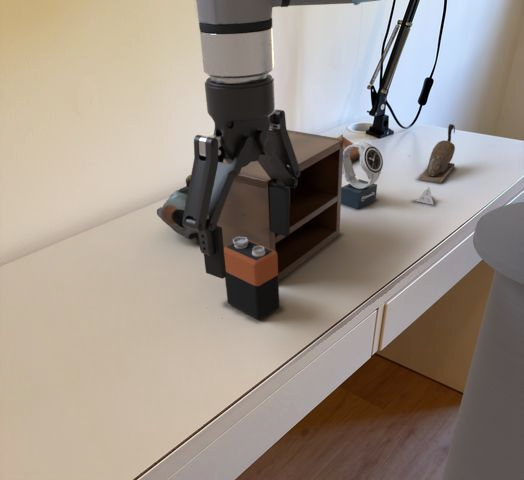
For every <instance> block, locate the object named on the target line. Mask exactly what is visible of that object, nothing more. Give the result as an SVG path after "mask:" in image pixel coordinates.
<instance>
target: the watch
mask: <svg viewBox="0 0 524 480" xmlns="http://www.w3.org/2000/svg"><path fill="white" fill-rule="evenodd" d="M353 147H358V148H359V149H358V151H359V154H360V158H359V163H360V167H361V169H362V170H363V172H364V173H365V174H366V176H367V180H369V181H367V180H363V179H360V178H359V179H357V178H356V176H357V175H356V173H355V170H354V167H353V162H351V160H350V156H349V155H350V152H351V149H352V148H353ZM383 165H384V159H383V155H382V154H381V151H380V150H379V148H377V146H373V145H372V144H371V143H369V142H366V141H357V142H355V143H353V144H352V145H350V146H348V147H347V148H345V150H344V151H343V166H342V175H343V177H344V179H345V181H346V182H348V184H346V185H342V189H341V205H344V206H347V207H350V208H354V209H356V210H359V209H361V208H363V207H365V206H367V205H370V204H371V203H373V202H375V201H376V200H377V190H378V184H377V183H376V182H377V181H378V179H379V177H380V175H381V173H382V169H383Z"/></svg>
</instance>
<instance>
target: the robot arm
mask: <svg viewBox="0 0 524 480" xmlns="http://www.w3.org/2000/svg"><path fill="white" fill-rule="evenodd" d="M379 1H380V0H195V2H196V10H197V19H198V28H199V36H200V46H201V55H202V57H201V58H202V64H203V65H202V66H203V73H204V74H206V75H207V76H208V78H207V79H206V81H205V82H204V92H205V101H206V112H207V114H208V115H209V116H210V118H211V119H212V121H213V123H214V130H213V134H212V135H208V136H207V135H201V134H196V135H195V136H194V138H193V155H194V158H193V163H192V168H191V174H190V175H191V178H190V183H189V189H188V194H187V199H186V204H185V209H184V215H183V220H182V224H183V226H184V227H187V228H190V229H194V230H197V231H198V236H199V241H198V243H199V250H200V252H201V254H203V260H204V267H205V273H206V274H208V275H210V276H214V277H215V278H219V279H222V280H223V279H225V277H226V266H225V256H224V246H223V236H222V227H219V226H216V225H217V223H218V220H219V217H220V215H221V212H222V209H223V207H224V204H225V201H226V199H227V196H228V193H229V191H230V188H231V185H232V183H233V180H234V177H235V176H237V175H238V174H239V173H240V171H241V168H242V167H245V166H247V165H248V164H249V163H250V162H255V161H258V163H259V164H260V165H261V167H262V168H263V169H264V171H265V172H266V173H267V174H268V176H269V177H270V178H271V180H272V181H273V182H274V183H275V184H276V186H275V185H272V186H270V187H269V193H270V221H271V232H273V233H277V234H280V235H284V236H288V235H289V234H290V221H289V207H290V187H292V188H296V186H297V184H298V180H297V179H294V178H295V177H296V178H298V177H299V176H300V172H301V171H300V168H299V165H298V162H297V159H296V156H295V153H294V150H293V147H292V144H291V141H290V138H289V135H288V132H287V130H288V129H287V122H286V121H287V120H286V119H287V118H286V112H285V110H283V109H276V108H275V107H276V105H275V103H276V102H275V78H274V77H273V76H272V75H271V74H270V73H271V72H272V71H273V70H274V69H275V55H274V53H275V52H274V28H273V18H272V15H273V8H277V7H278V8H279V7H280V8H288V7H293V6H295V7H296V6H323V5H346V4H347V5H348V4H353V6H359V5H360V4H362V3H363V4H364V3H369V2H371V3H372V2H379ZM224 159H225V160H226V162H227V163H228V164H226V163H223V160H224ZM288 165H289V166H290V167H289V166H288ZM207 215H209V218H208V219H207Z"/></svg>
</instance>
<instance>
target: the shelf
mask: <svg viewBox="0 0 524 480" xmlns="http://www.w3.org/2000/svg"><path fill="white" fill-rule="evenodd" d="M287 132H288V135H289V138H290V141H291V144H292V147H293V150H294V153H295V156H296V159H297V162H298V165H299V168H300V171H301V172H300V176H299V177H298V178H296V177H295V178H294V179H297V180H298V184H297V186H296V188H292V187H290V207H289V221H290V234H289V235H288V236H284V235H280V234H277V233H273V232H271V221H270V193H269V187H270V186H272V185H275V186H276V184H275V183H274V182H273V181H272V180H271V178H270V177H269V176H268V174H267V173H266V172H265V171H264V169H263V168H262V167H261V165H260V164H259V163H258V161H255V162H250V163H249V164H248V165H247V166H245V167H242V168H241V171H240V173H239V174H238V175H237V176H235V177H234V180H233V183H232V185H231V188H230V191H229V193H228V196H227V199H226V201H225V204H224V207H223V209H222V212H221V215H220V217H219V220H218V223H217V225H216V226H219V227H222V236H223V246H224V247H226V246H228V245H230V244H232V243H233V239H234V238H236V237H246V238H247V239H248V240H250V241H252V242H254V243H257V244H259V245H262V246H264V247H266V248H269V249H271V250H273V251H275V252H277V257H278V282H279V281H281V280H282V279H283V278H285V277H286V276H287V275H288V274H290V273H291V272H292V271H294V270H295V269H297V268H298V267H299V266H300V265H301V264H303V263H304V262H305V261H307V260H308V259H309V258H310V257H312V256H313V255H315V254H316V253H317V252H319V251H320V250H322V248H324V247H325V246H327V245H328V244H329V243H330V242H332V241H333V240H334V239H335V238H337V237H338V236H340V233H341V232H340V231H341V230H340V229H341V210H342V209H341V208H342V207H341V206H342V204H341V189H342V187H343V171H342V166H343V145H344V139H339V138H338V137H333V136H327V135H320V134H314V133H309V132H303V131H296V130H291V129H287ZM223 163H226V164H228V163H227V162H226V160H225V159H224V160H223ZM288 166H289V165H288ZM289 167H290V166H289ZM208 218H209V215H207V219H208Z"/></svg>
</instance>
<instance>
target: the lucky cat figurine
mask: <svg viewBox="0 0 524 480" xmlns="http://www.w3.org/2000/svg"><path fill="white" fill-rule="evenodd" d="M190 178H191V174H189V175H188V176H187V177H186V178H185V184H186V186H183V187H181V188H179V189H177V190H175V191H173V192H172V193H171V194H170V196H169V197H168V198H167V199H166V201H165V202H164V204H163V205H162V207H158V208H157V209H156V215H157V217H159V218H160V219H161V221H163V222H164V223H165V224H166V225H167V226H168V227H169V228H171V229H172V230H173V231H174V232H175V233H177V234H178V235H180V236H182V237H184V238H185V239H187V240H193V239H196V240H197V241H198V242H199V236H198V231H197V230H194V229H190V228H187V227H184V226H183V224H182V220H183V215H184V209H185V204H186V199H187V194H188V189H189V183H190Z"/></svg>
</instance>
